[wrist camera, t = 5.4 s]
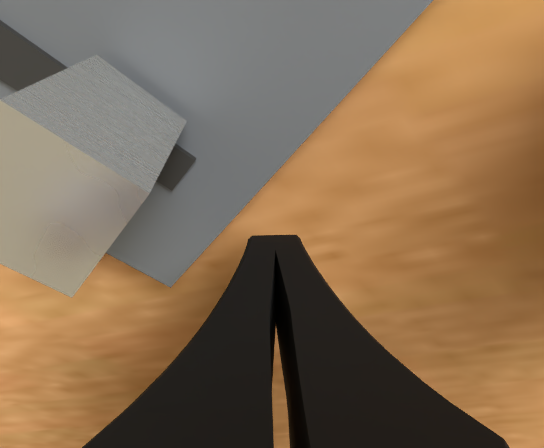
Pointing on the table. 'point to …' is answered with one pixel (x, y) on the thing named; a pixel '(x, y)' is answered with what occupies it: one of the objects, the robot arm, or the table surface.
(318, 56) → the control board
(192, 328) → the table surface
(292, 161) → the table surface
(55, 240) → the metal slider
